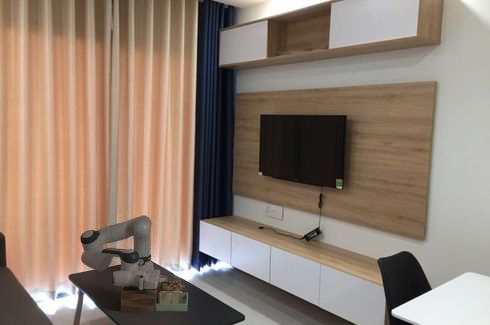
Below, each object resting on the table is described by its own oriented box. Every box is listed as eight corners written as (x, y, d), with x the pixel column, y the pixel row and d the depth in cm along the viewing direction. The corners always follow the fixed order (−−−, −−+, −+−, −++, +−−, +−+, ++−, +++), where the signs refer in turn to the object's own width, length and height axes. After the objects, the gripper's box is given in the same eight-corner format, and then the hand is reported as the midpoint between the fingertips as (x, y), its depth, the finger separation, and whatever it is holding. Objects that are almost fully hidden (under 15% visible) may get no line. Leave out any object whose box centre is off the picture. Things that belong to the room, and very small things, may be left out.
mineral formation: (160, 288, 258) (184, 287, 260) (159, 301, 245) (184, 299, 247) (159, 277, 256) (184, 275, 258) (158, 289, 243) (184, 287, 245)
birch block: (160, 291, 238) (182, 291, 240) (160, 301, 239) (181, 301, 240) (159, 294, 233) (181, 294, 235) (159, 305, 234) (181, 305, 235)
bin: (158, 299, 243) (158, 292, 242) (187, 299, 245) (188, 292, 244) (155, 311, 227) (155, 304, 227) (187, 311, 229) (187, 304, 229)
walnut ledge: (125, 299, 241) (125, 282, 240) (157, 299, 243) (157, 282, 242) (120, 311, 225) (120, 293, 224) (154, 311, 227) (155, 293, 226)
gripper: (143, 277, 243) (168, 277, 245) (139, 291, 223) (165, 291, 224) (144, 266, 242) (168, 266, 244) (139, 279, 222) (165, 279, 224)
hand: (167, 278), depth 234 cm, fingers closed
